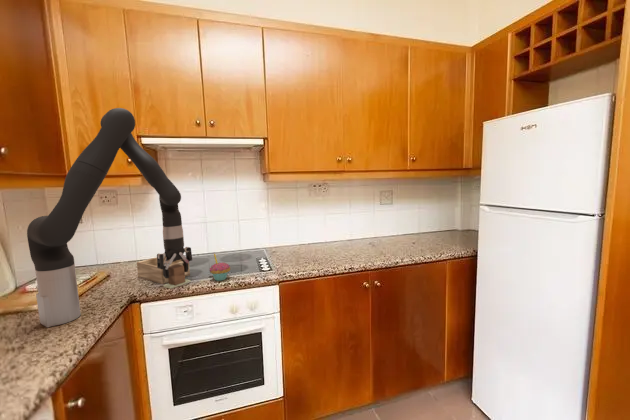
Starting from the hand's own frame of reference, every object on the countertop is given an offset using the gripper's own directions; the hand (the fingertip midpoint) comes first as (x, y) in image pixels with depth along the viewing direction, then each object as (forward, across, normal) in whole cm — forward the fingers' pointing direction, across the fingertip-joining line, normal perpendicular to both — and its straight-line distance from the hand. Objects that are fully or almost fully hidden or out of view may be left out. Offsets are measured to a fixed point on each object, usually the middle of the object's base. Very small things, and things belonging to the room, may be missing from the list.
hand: (176, 274), depth 122 cm
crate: (+4, -4, -15) cm, 16 cm away
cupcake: (+4, -13, +12) cm, 18 cm away
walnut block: (+3, 0, 0) cm, 3 cm away
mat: (+4, 0, 0) cm, 4 cm away
